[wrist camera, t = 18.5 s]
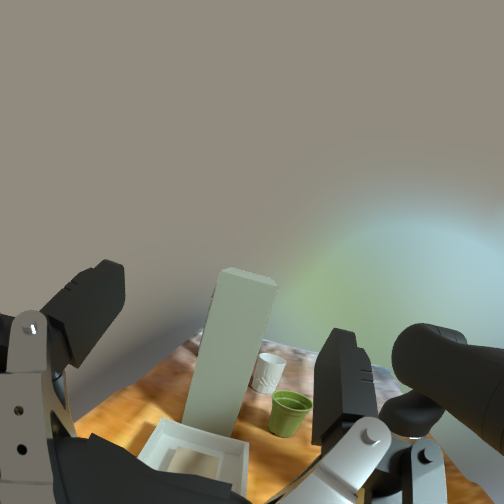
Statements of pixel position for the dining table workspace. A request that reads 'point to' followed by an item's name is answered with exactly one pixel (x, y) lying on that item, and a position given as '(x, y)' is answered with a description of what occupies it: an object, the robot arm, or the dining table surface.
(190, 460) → the beige long bar
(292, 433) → the plant pot
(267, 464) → the dining table surface
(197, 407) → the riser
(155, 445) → the tray
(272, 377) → the white cup
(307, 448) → the dining table surface
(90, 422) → the dining table surface
